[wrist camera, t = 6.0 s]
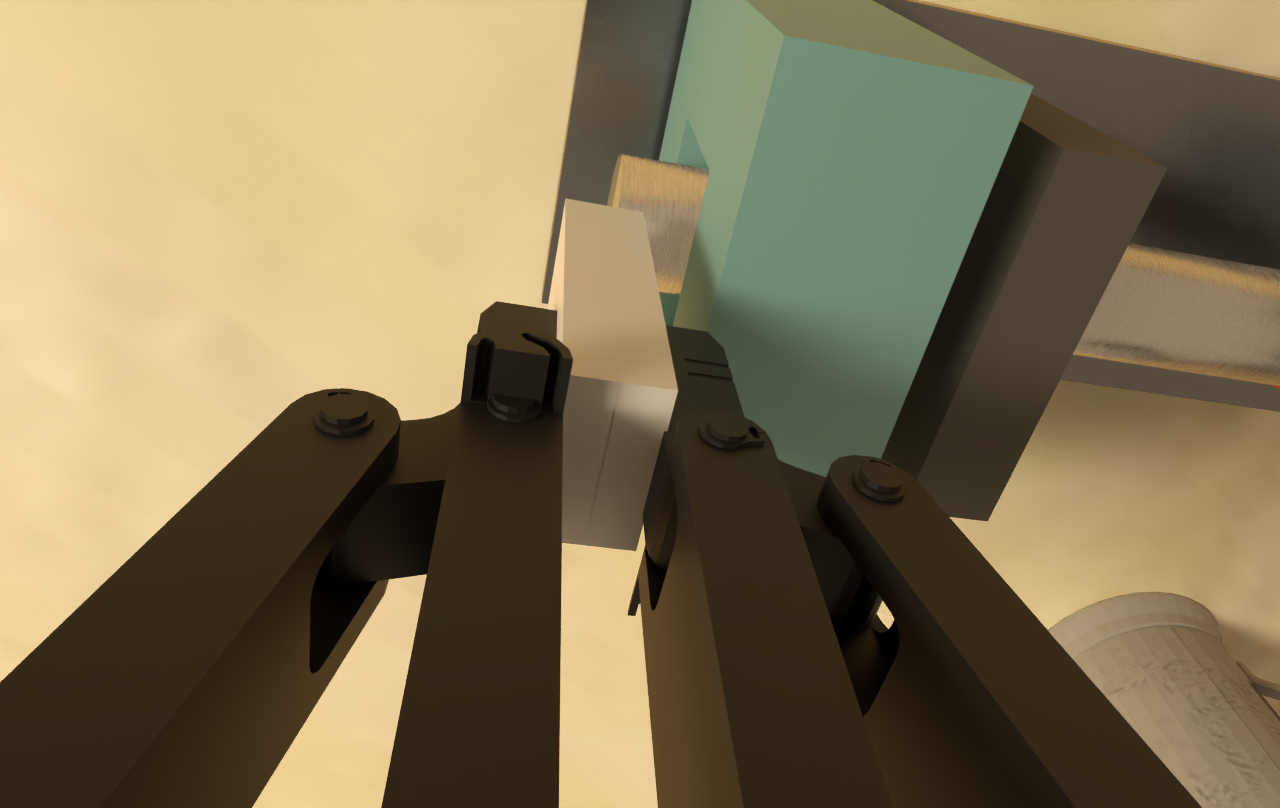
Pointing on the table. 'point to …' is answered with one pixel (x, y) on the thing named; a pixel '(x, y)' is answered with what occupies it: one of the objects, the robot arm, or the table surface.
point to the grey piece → (1066, 78)
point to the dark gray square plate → (1019, 305)
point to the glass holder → (1182, 694)
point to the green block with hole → (829, 205)
